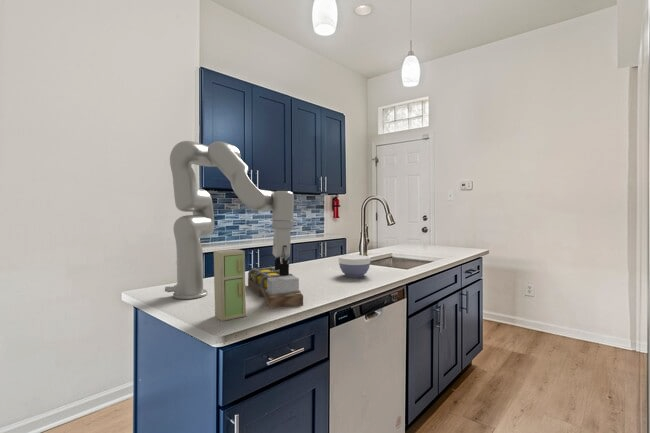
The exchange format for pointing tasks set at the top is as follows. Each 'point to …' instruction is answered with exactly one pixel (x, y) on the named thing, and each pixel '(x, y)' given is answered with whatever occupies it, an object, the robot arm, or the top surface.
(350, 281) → the top surface
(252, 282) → the cage light
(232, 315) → the toy refrigerator
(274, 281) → the block
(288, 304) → the stand
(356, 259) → the bowl
